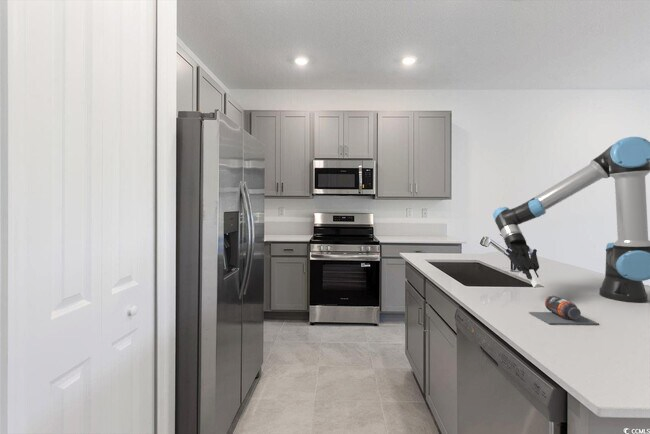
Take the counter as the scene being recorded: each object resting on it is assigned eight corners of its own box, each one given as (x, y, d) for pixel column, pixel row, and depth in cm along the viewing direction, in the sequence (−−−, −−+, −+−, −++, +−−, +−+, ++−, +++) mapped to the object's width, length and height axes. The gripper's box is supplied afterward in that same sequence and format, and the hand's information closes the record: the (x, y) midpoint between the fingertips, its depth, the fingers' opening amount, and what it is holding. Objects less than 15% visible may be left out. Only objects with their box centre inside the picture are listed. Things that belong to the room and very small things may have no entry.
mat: (574, 313, 118) (574, 312, 118) (599, 325, 107) (599, 323, 107) (529, 313, 118) (529, 311, 118) (549, 324, 107) (549, 323, 107)
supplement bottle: (555, 314, 119) (577, 326, 108) (540, 305, 119) (561, 316, 108) (564, 300, 119) (587, 310, 108) (550, 291, 119) (571, 301, 108)
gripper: (524, 242, 145) (549, 290, 129) (494, 242, 145) (515, 290, 129) (532, 232, 139) (559, 280, 123) (501, 232, 139) (524, 280, 123)
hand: (537, 285), depth 126 cm, fingers closed
